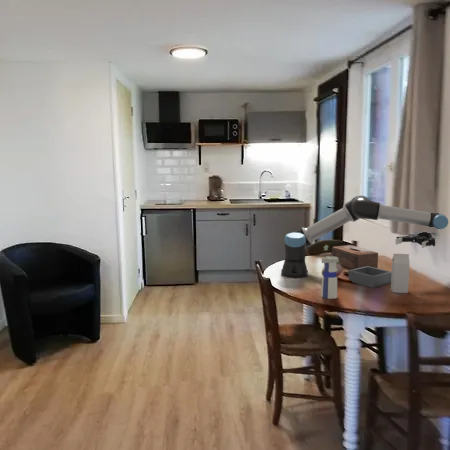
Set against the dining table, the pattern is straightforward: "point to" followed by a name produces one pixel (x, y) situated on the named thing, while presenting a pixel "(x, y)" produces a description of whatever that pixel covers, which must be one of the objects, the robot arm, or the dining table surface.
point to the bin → (370, 276)
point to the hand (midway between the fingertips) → (409, 243)
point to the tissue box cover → (355, 256)
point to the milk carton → (400, 273)
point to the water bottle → (329, 277)
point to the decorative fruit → (338, 269)
